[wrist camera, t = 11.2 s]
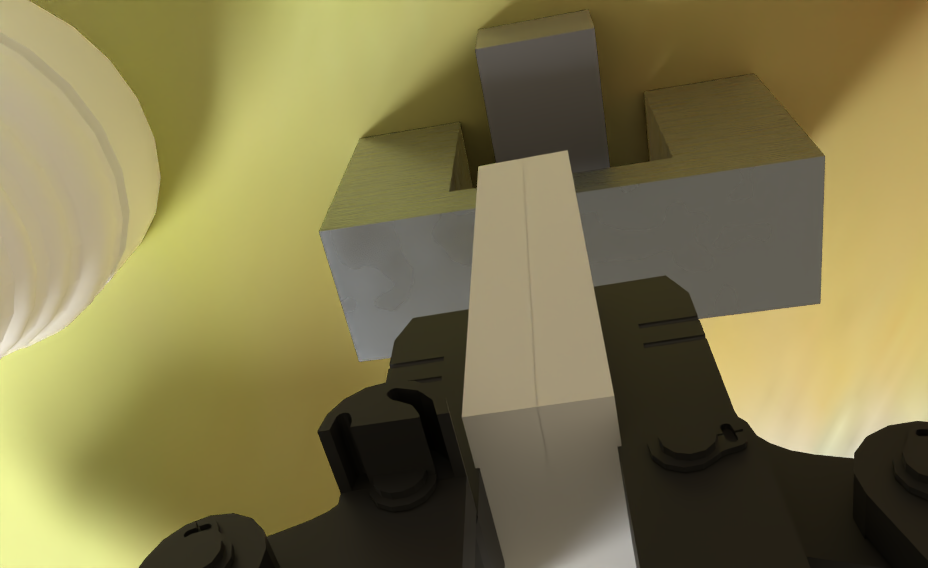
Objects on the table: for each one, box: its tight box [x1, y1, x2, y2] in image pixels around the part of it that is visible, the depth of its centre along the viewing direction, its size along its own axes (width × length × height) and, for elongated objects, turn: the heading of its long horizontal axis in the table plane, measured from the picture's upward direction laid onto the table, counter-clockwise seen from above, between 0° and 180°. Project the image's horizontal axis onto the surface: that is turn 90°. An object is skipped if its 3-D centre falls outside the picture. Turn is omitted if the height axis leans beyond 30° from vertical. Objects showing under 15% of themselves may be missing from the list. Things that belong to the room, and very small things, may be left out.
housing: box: [319, 74, 825, 362], centre depth 29 cm, size 15×5×8 cm, turn 101°
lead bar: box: [475, 10, 610, 173], centre depth 31 cm, size 4×10×3 cm, turn 11°
